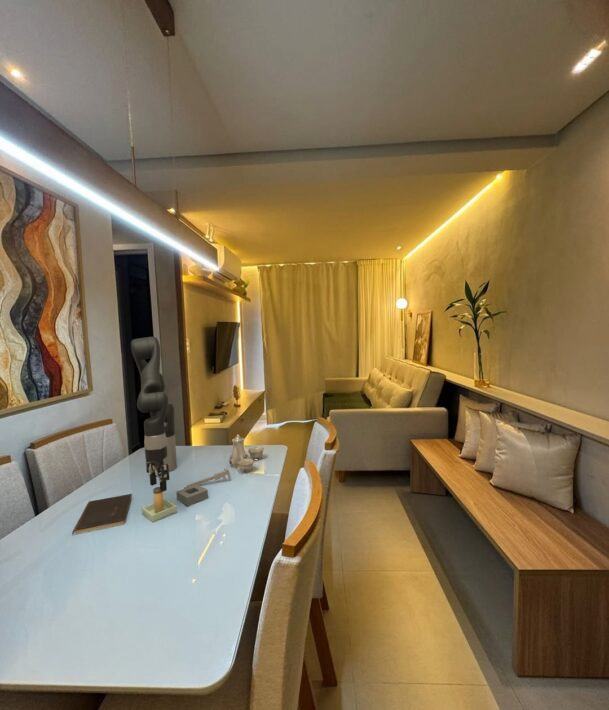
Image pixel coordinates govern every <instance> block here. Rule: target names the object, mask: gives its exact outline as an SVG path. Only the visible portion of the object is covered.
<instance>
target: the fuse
mask: <svg viewBox="0 0 609 710" xmlns="http://www.w3.org/2000/svg"><path fill="white" fill-rule="evenodd" d="M152 493H153V504H154V507H155V514H156V513H159V512H161V511H164V502H163V500H164V494H163V493H164V492H161V491H160V486H157V487H154V488H153V490H152Z"/></svg>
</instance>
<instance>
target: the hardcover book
mask: <svg viewBox="0 0 609 710" xmlns="http://www.w3.org/2000/svg"><path fill="white" fill-rule="evenodd" d="M132 496H133V493H129V494H123V495H118V496H117V495H116V496H111V497H107V498H101V499H95V500H89V501H88V502H87V503H86V506H85V507H84V510H83V511H82V513H81V515H80V517H79V519H78V520H77V522H76V524H75V527H74V528H73V530H72V535H73V534H74V533H80V534H83V533H82V532H85V533H88V531H90V532H94V530H95V531H98V530H103V528H104V529H108V527H109V528H113V527H119V526H124V524H125V522H126V518H127V514H128V511H129V507H130V504H131V499H132Z"/></svg>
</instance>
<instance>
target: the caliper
mask: <svg viewBox="0 0 609 710" xmlns="http://www.w3.org/2000/svg"><path fill="white" fill-rule="evenodd" d="M226 476H227V478H228V481H231V473H230V470H229V469H228V468H227V467H226V468H223V470H222V471H220V472H219V471H218V472H217V473H215V474H213V475H211V476H208V477H205V478H203V479H201V480H200V479H199V480H197V481H194V482H191V483H189V484H186V486H184V487H183V489H185V488H187V487H190V486H193V485H196V484H197V485H199V486H201V485H202V484H206V483H208V482H210V481H214V480H215V481H218V480H221V478H223V480H224V482H225V483H226V482H227V478H226Z"/></svg>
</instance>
